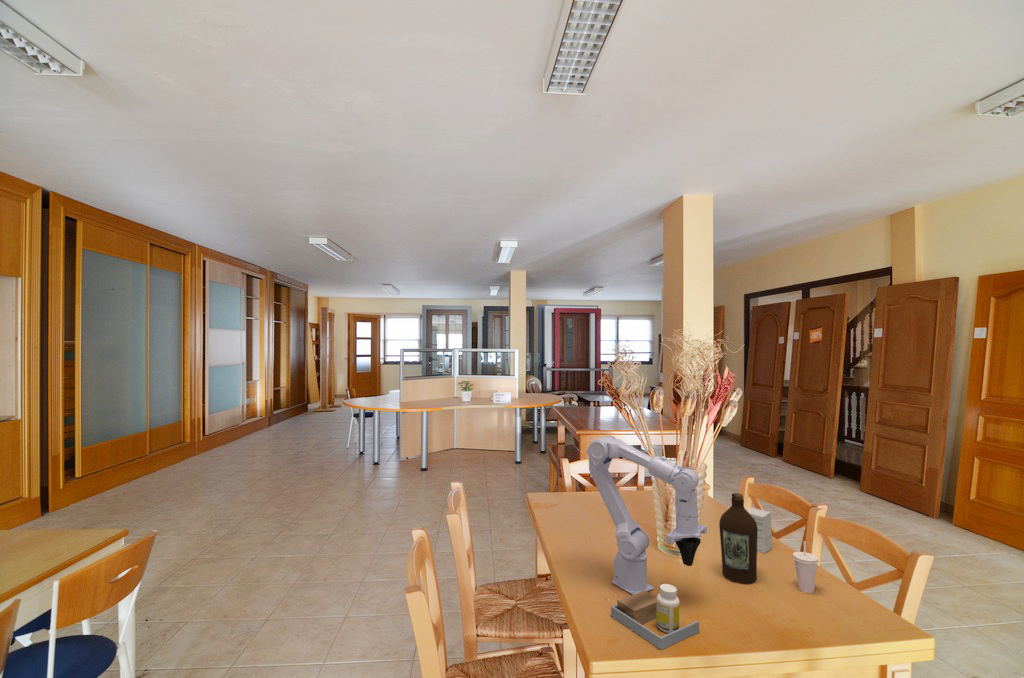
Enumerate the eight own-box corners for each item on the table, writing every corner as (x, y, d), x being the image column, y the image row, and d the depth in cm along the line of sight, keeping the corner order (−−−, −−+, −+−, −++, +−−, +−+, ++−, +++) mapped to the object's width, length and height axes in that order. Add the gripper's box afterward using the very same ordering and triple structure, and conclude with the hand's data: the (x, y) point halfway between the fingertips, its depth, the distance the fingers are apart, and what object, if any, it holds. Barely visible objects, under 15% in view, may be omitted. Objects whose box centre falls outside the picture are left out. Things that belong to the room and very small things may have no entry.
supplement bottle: (675, 621, 119) (676, 582, 119) (681, 634, 114) (682, 594, 114) (653, 619, 119) (654, 581, 119) (658, 633, 114) (660, 593, 114)
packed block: (617, 615, 122) (617, 600, 122) (644, 605, 127) (644, 590, 127) (634, 627, 117) (634, 610, 117) (662, 615, 122) (662, 600, 122)
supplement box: (750, 542, 170) (749, 506, 171) (772, 548, 165) (771, 511, 165) (742, 547, 165) (741, 511, 166) (765, 554, 160) (764, 516, 160)
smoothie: (791, 590, 135) (789, 541, 135) (796, 582, 140) (794, 534, 140) (817, 598, 130) (815, 547, 131) (821, 589, 135) (820, 540, 136)
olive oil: (724, 566, 151) (722, 487, 152) (761, 575, 144) (759, 493, 145) (716, 578, 142) (714, 495, 143) (755, 588, 136) (753, 501, 137)
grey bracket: (611, 616, 122) (611, 606, 122) (648, 602, 129) (647, 592, 129) (661, 649, 108) (660, 638, 108) (699, 632, 115) (699, 621, 115)
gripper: (680, 523, 122) (682, 576, 121) (716, 513, 129) (717, 563, 129) (659, 515, 128) (660, 566, 127) (694, 506, 135) (695, 554, 135)
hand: (687, 564), depth 129 cm, fingers closed
